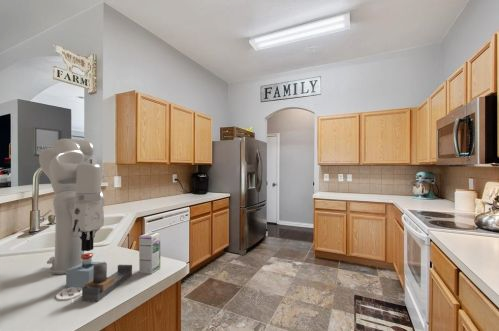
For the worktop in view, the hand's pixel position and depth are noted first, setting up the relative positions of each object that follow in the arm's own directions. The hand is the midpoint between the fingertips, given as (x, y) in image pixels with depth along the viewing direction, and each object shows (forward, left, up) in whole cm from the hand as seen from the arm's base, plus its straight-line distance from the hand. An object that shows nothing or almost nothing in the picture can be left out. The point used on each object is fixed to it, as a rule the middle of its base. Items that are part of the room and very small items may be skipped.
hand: (87, 250), depth 82 cm
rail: (+10, -2, -12) cm, 15 cm away
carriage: (+10, -7, -9) cm, 15 cm away
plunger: (0, 0, -5) cm, 6 cm away
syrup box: (+17, +12, -12) cm, 24 cm away
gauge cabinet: (0, 0, -12) cm, 12 cm away
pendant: (+1, -8, -12) cm, 15 cm away
